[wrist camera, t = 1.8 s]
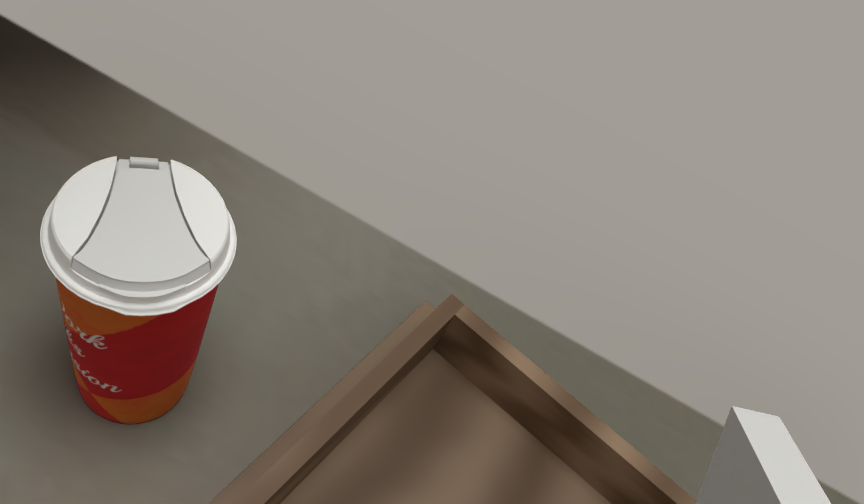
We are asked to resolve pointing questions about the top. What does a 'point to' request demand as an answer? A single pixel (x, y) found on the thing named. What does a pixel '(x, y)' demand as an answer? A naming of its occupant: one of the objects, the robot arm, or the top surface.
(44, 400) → the top surface
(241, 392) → the top surface
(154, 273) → the paper cup
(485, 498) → the walnut tray
